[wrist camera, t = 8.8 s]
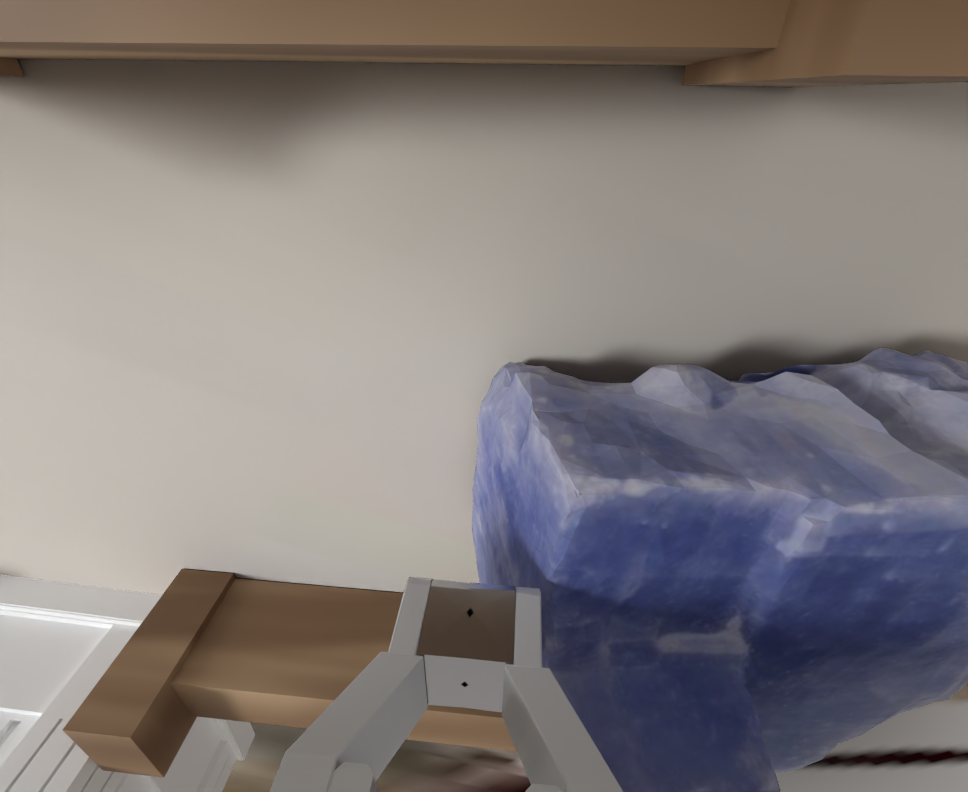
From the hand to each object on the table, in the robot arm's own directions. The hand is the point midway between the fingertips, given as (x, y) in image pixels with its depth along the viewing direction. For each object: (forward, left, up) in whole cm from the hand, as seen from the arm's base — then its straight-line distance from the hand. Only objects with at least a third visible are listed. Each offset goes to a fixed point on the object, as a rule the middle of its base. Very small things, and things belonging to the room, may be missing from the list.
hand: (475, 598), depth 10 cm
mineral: (+1, +6, -6) cm, 9 cm away
